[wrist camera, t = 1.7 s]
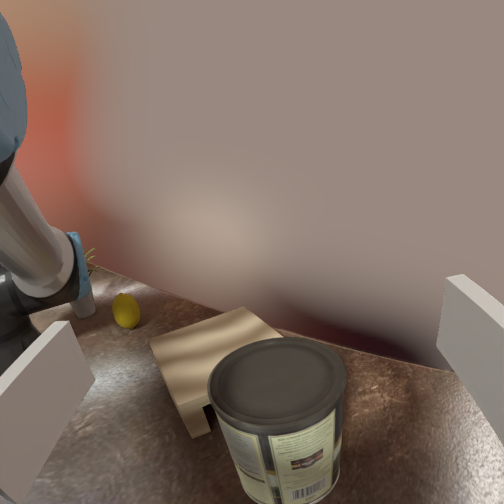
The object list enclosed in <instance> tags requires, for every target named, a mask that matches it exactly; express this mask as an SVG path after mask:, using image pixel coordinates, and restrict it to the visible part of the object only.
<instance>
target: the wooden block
mask: <svg viewBox="0 0 504 504" xmlns="http://www.w3.org/2000/svg"><path fill="white" fill-rule="evenodd" d="M279 337H283V336H282V335H280V334H279V333H278V332H276V331H275V330H274V329H272V328H271V327H270V326H269V325H267V324H266V323H265V322H263V321H262V320H261V319H260V318H258V317H257V316H256V315H254V314H253V313H252V312H251V311H249V310H248V309H247V308H245V307H244V306H242V307H240V308H237V309H234V310H231V311H229V312H226V313H223V314H220V315H218V316H215V317H212V318H209V319H206V320H204V321H201V322H198V323H195V324H192V325H189V326H186V327H183V328H180V329H178V330H175V331H172V332H169V333H166V334H163V335H160V336H157V337H154V338H151V339H148V341H149V344H150V346H151V349H152V352H153V355H154V357H155V360H156V363H157V365H158V368H159V371H160V373H161V375H162V378H163V380H164V382H165V384H166V386H167V389H168V391H169V393H170V395H171V397H172V399H173V402H174V404H175V406H176V408H177V410H178V412H179V414H180V416H181V418H182V420H183V422H184V424H185V426H186V428H187V430H188V432H189V434H190V436H191V438H192V439H193V438H196V437H198V436H201V435H204V434H206V433H209V432H211V430H210V427H209V424H208V422H207V419H206V416H205V413H204V411H203V408H202V407H203V406H206V405H208V404H211V403H210V400H209V397H208V393H207V383H208V379H209V376H210V374H211V372H212V370H213V369H214V367H215V366H216V365H217V364H218V363H219V362H220V361H221V360H222V359H223V358H224V357H225V356H227V355H228V354H229V353H231V352H233V351H234V350H237V349H238V348H240V347H242V346H245V345H247V344H250V343H253V342H256V341H260V340H265V339H270V338H279Z"/></svg>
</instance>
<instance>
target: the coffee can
mask: <svg viewBox="0 0 504 504" xmlns="http://www.w3.org/2000/svg"><path fill="white" fill-rule="evenodd" d="M346 380H347V372H346V367H345V365H344V363H343V361H342V359H341V358H340V356H339V355H338V354H337V353H336V352H335V351H334V350H332V349H331V348H329V347H328V346H326V345H324V344H322V343H319V342H316V341H313V340H309V339H305V338H297V337H279V338H270V339H265V340H260V341H256V342H253V343H250V344H247V345H245V346H242V347H240V348H238V349H237V350H234V351H233V352H231V353H229V354H228V355H227V356H225V357H224V358H223V359H222V360H221V361H220V362H219V363H218V364H217V365H216V366H215V367H214V369H213V370H212V372H211V374H210V376H209V379H208V383H207V393H208V397H209V400H210V403H211V405H212V407H213V409H214V410H215V412H216V415H217V418H218V421H219V424H220V426H221V429H222V432H223V435H224V437H225V440H226V443H227V446H228V448H229V451H230V454H231V456H232V459H233V461H234V464H235V467H236V469H237V472H238V474H239V477H240V480H241V484H242V487H243V489H244V491H245V492H246V493H247V495H248V496H249V497H250V498H251V499H252V500H254V501H255V502H256V503H258V504H315V503H317V502H319V501H320V500H322V499H323V498H324V497H326V496H327V495H328V494H329V493H330V492H331V491H332V489H333V488H334V486H335V485H336V483H337V480H338V478H339V474H340V456H341V455H340V454H341V440H342V425H343V405H344V391H345V388H346Z"/></svg>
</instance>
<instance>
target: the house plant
mask: <svg viewBox="0 0 504 504" xmlns="http://www.w3.org/2000/svg"><path fill="white" fill-rule="evenodd" d="M94 249H95V248H94ZM94 249H92V250H94ZM92 250H90V251H92ZM83 251H84V249H83ZM90 251H89V252H90ZM89 252H87V254H86V255H85V256H84V257H86V256H87V255H88V253H89ZM92 257H93V256H92ZM92 257H90V258H92ZM90 258H89V259H90ZM89 259H88V260H89ZM88 260H87V261H86V263H87V262H88ZM96 267H98V266H96ZM96 267H95V268H96ZM95 268H93V269H92V270H88V272H89V271H91V272H92V271H93V270H94V269H95ZM95 271H96V270H95ZM91 272H90V274H91ZM97 272H98V271H97ZM90 274H89V276H90ZM69 303H70V305H71V306H72V308H73V310H74V312H75V314H76V315H77V317H78V318H86V317H89V316H91V315H93V314H94V313H95V311H96V309H95V304H94V298H93V293H92V287H91V292H90V294H89V295H88V296H86V297H83V298H81V299H79V300H78V301H72V302H69Z"/></svg>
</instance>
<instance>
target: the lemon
mask: <svg viewBox="0 0 504 504" xmlns="http://www.w3.org/2000/svg"><path fill="white" fill-rule="evenodd" d="M112 311H113V315H114V318H115V320H116V322H117V323H118V324H119V325H120V326H122V327H124V328H129V329H133V328H134V326H136V325H137V324H138V322H139V320H140V309H139V306H138V304H137V302H136V300H135V299H134V298H133V297H132V296H130V295H128V294H123V293H120V294H119V295H118V296H117V297H116V298H115V299H114V301H113V304H112Z"/></svg>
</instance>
